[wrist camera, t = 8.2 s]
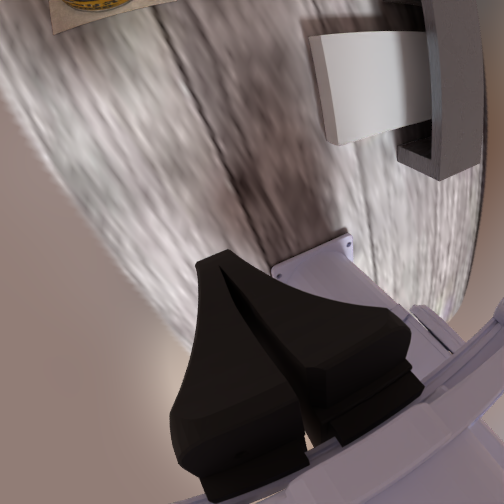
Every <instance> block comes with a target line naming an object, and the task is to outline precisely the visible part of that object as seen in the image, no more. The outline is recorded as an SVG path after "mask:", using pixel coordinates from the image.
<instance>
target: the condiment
mask: <svg viewBox="0 0 504 504" xmlns="http://www.w3.org/2000/svg"><path fill="white" fill-rule="evenodd" d="M174 1H177V0H49V7H50V16H51V23H52V30H53V35H55V34H58V33H60V32H63V31H66V30H68V29H71V28H74V27H77V26H80V25H83V24H86V23H89V22H92V21H96V20H99V19H102V18H106V17H109V16H113V15H116V14H120V13H123V12H127V11H131V10H135V9H140V8H144V7H148V6H152V5H157V4H162V3H168V2H174Z"/></svg>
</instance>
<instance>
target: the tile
mask: <svg viewBox="0 0 504 504" xmlns="http://www.w3.org/2000/svg"><path fill="white" fill-rule="evenodd" d="M308 38H309V42H310V47H311V52H312V57H313V62H314V67H315V72H316V77H317V83H318V88H319V94H320V100H321V106H322V112H323V118H324V125H325V131H326V138H327V142H329V143H332V144H334V145H337V146H341V145H345V144H348V143H351V142H354V141H357V140H360V139H364V138H367V137H370V136H373V135H377V134H380V133H383V132H387V131H390V130H393V129H397V128H400V127H404V126H407V125H411V124H415V123H418V122H422V121H426V120H429V119H432V96H431V77H430V63H429V52H428V43H427V35H426V32H417V31H371V32H351V33H338V34H327V35H318V36H309V37H308Z"/></svg>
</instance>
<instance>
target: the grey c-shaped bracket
mask: <svg viewBox="0 0 504 504" xmlns="http://www.w3.org/2000/svg"><path fill="white" fill-rule="evenodd" d="M383 1H385V2H394V3H402V4H409V5H416V6H422V8H423V14H424V20H425V27H426V35H427V43H428V52H429V63H430V77H431V96H432V136H430V137H426V138H423V139H419V140H416V141H412V142H409V143H406V144H402V145H399V146H397V157H398V162H400V163H402V164H404V165H406V166H409V167H411V168H413V169H415V170H417V171H419V172H421V173H423V174H425V175H427V176H430V177H432V178H434V179H436V180H438V181H441V180H444V179H446V178H448V177H450V176H452V175H455V174H457V173H459V172H461V171H464V170H466V169H468V168H470V167H473V166H475V165H477V164H479V163H480V156H481V145H482V131H483V103H484V86H483V59H482V45H481V35H480V26H479V18H478V11H477V4H476V0H383Z"/></svg>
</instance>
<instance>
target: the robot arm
mask: <svg viewBox="0 0 504 504" xmlns="http://www.w3.org/2000/svg"><path fill="white" fill-rule="evenodd" d="M347 243H348V244H347ZM195 267H196V271H197V276H198V314H197V324H196V331H195V337H194V343H193V347H192V352H191V356H190V360H189V363H188V367H187V370H186V373H185V376H184V379H183V382H182V385H181V388H180V391H179V393H178V395H177V397H176V400H175V402H174V404H173V407H172V409H171V411H170V432H171V440H172V445H173V448H174V452H175V455H176V458H177V461H178V464H179V465H180V466H181V467H182V468H184V469H185V470H187V471H188V472H190V473H192V474H193V475H195V476H197V477H199V479H200V481H201V484H202V487H203V489H204V492H205V494H202V495H199V496H195V497H192V498H188V499H185V500H182V501H178V502H174V503H170V504H249V503H252V502H254V501H257V500H260V499H262V498H265V497H267V496H270V495H272V494H274V493H276V492H278V493H276V494H274V495H272V496H270V497H269V498H266V499H264V500H262V501H260V502H258V503H256V504H504V442H503V441H502V440H501V439H500V438H499V437H498V436H497V435H496V434H495V433H494V431H493V430H492V429H491V428H490V427H489V426H488V425H487V424H486V423H485V422H484V421H483V420H482V419H481V417H482V416H483V415H484V414H485V412H486V411H487V410H488V409H489V408H490V407H491V406H492V405H493V404H494V403H495V402H496V401H497V399H498V398H499V397H500V396H501V395H502V394H503V393H504V298H503V299H502V300H501V301H500V303H499V304H498V306H497V308H496V310H495V312H494V315H493V318H491V319H490V320H489V321H488V322H487V324H485V325H484V326H483V327H482V328H481V329H480V330H479V331H478V332H477V333H476V334H475V335H474V336H473V337H472V338H471V339H470V340H468V341H467V342H466V343H465V341H464V340H463V339H462V338H461V337H460V336H459V335H458V334H457V333H456V332H455V331H454V330H453V329H452V328H451V327H450V326H449V325H448V324H447V323H446V322H445V321H444V320H443V319H442V318H440V317H439V316H438V315H437V314H436V313H435V312H434V311H432V310H431V309H430V308H429V307H427V306H426V305H418V306H417V305H413V306H412V308H411V309H410V311H411V312H412V313H413V314H414V315H415V316H416V317H417V318H418V320H419V321H420V322H421V323H422V324H423V325H424V326H425V327H426V328H427V329H428V331H427V330H426V329H425V328H424V327H423V326H422V325H421V324H420V323H419V322H418V321H417V320H416V319H415V318H414V317H413V316H412V315H411V314H410V313H408V312H407V311H406V310H405V309H404V308H403V307H402V306H401V305H400V304H397V303H396V302H395V301H394V300H393V299H392V298H391V297H390V296H389V295H388V294H387V293H385V292H384V291H383V290H382V289H381V288H380V287H379V286H378V285H377V284H376V283H375V282H374V281H372V280H371V279H370V278H369V277H368V276H367V275H366V274H365V273H364V272H363V271H361V270H360V269H359V268H358V267H357V266H356V265H355V264H354V263H353V236H352V235H351V234H350V233H346V234H344V235H342V236H340V237H338V238H335V239H333V240H331V241H329V242H326V243H324V244H322V245H320V246H317V247H315V248H313V249H311V250H308V251H306V252H304V253H302V254H299V255H297V256H295V257H293V258H290V259H288V260H286V261H284V262H281V263H279V264H277V265H275V266H273V268H272V269H271V274H272V277H271V276H269V275H267V274H265V273H264V272H262V271H260V270H259V269H257V268H255V267H254V266H252V265H250V264H249V263H247V262H246V261H244V260H243V259H241V258H240V257H239V256H237V255H236V254H235V253H233V252H232V251H231V250H228V249H227V250H224V251H222V252H220V253H217V254H215V255H212V256H210V257H208V258H205V259H203V260H200V261H198V262H197V263H196V264H195ZM278 274H280V275H279V276H277V275H278ZM448 351H450V352H451V353H452V354H453V355H451V354H450V353H449V352H448ZM305 432H306V434H307V435H308V437H309V439H310V441H311V443H312V445H313V447H314V448H313V449H311V450H309V451H307V447H306V442H305V437H304V435H305ZM281 490H282V491H281ZM279 491H280V492H279Z"/></svg>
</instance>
